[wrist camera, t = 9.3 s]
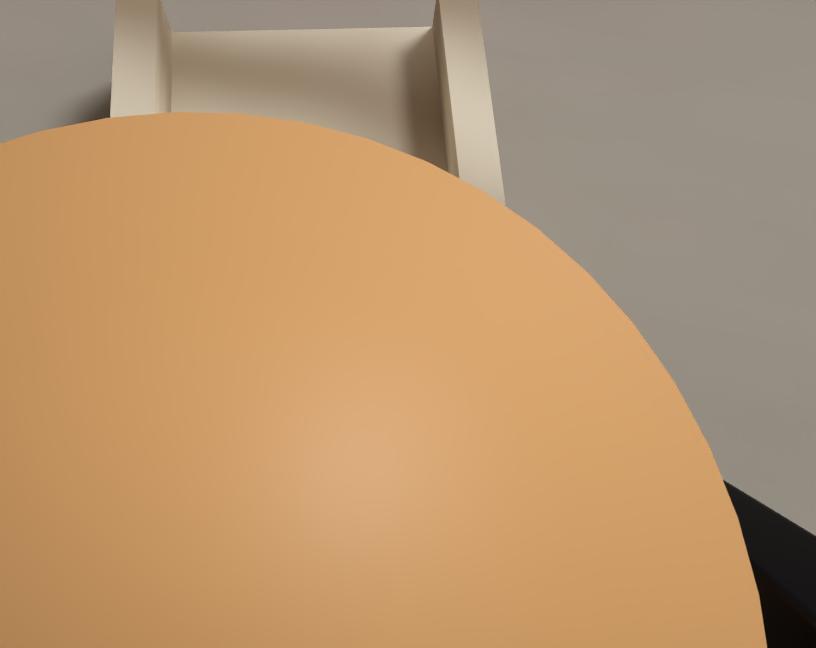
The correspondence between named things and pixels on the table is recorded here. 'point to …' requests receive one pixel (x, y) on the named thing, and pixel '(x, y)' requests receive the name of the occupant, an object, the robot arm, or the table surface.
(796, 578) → the robot arm
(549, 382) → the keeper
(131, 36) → the track
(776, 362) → the table surface
